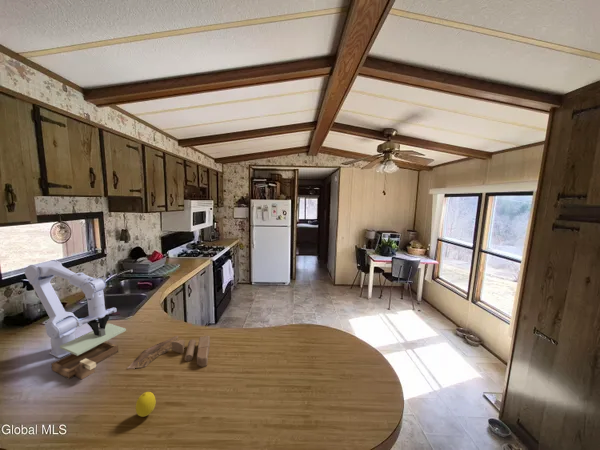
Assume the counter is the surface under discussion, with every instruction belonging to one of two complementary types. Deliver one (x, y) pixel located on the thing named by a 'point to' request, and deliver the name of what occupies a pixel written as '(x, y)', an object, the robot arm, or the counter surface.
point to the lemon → (145, 404)
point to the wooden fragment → (152, 353)
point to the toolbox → (72, 364)
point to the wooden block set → (202, 349)
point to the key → (88, 364)
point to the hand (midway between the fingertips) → (99, 333)
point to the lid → (92, 339)
